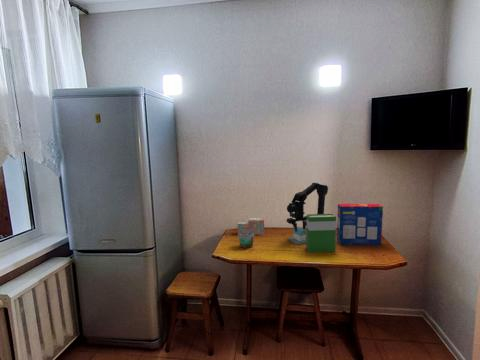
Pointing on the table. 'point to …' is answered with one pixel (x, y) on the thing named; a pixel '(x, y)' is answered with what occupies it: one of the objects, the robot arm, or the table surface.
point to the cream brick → (299, 237)
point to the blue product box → (359, 224)
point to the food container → (245, 240)
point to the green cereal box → (321, 232)
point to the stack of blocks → (252, 226)
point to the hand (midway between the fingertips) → (299, 231)
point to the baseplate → (297, 241)
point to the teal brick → (300, 231)
